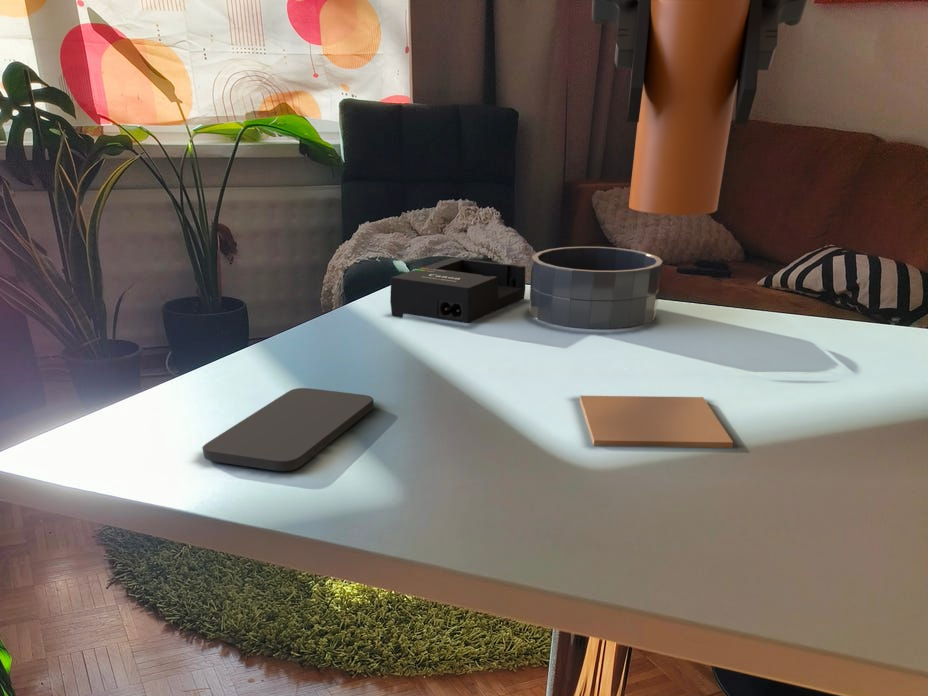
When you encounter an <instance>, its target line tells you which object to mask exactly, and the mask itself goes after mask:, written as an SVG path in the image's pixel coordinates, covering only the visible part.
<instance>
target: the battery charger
mask: <svg viewBox="0 0 928 696" xmlns="http://www.w3.org/2000/svg"><path fill="white" fill-rule="evenodd" d="M525 294H526V265H525V266H524V265H517V264H508V263H500V262H493V261H492V262H491V261H484V260H476V259H467V258H459V257H450V258H447V259H444V260H439V261H438V262H434V263H432V264H428V265H425V266H421V267H419V268H416V269H413V270H409V271H407V272H403V273H401V274H398V275H395V276H391V277H390V296H389V297H390V299H389V300H390V301H389V302H390V310H391V316H392V317H397V318H403V317H404V315H410V316H417V317H424V318H428V319H429V318H431V319H436V320H443V321H449V322H456V323H462V324H471V323H474V322H475V321H478V320H480V319H482V318H484V317H486V316H489V315H490V314H493V313H496V312H497V311H500V310H502V309H504V308H507V307H509V306H512V305H514V304H516V303H518V302H520V301H523V300H524V299H525V296H526V295H525Z"/></svg>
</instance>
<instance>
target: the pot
mask: <svg viewBox="0 0 928 696" xmlns="http://www.w3.org/2000/svg"><path fill="white" fill-rule="evenodd" d="M663 262H664V261H663V260H662V259H661V258H660V257H659V256H657V255H654V254H651V253H649V252H646V251H645V252H644V251H641V250H635V249H628V248H620V247H609V246H607V247H606V246H565V247H557V248H549V249H545V250H541V251H538V252H536V253H535V254H533V255H532V256H531V269H530V287H529V288H530V290H529V306H528V307H529V309H528V311H529V314H530V316H532V317H533V318H534V319H535V320H538V321H540V322H543V323H545V324H546V323H547V324H549V325H554V326H558V327H564V328H573V329H582V330H620V329H621V330H622V329H630V328H631V329H632V328H636V327H640V326H641V327H642V326H644V325H646V324H650V323H651V322H653V320H654V319H655V317H656V316H657V308H658V301H659V293H660V284H661V279H662V278H661V277H662V271H663Z"/></svg>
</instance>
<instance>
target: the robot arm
mask: <svg viewBox="0 0 928 696" xmlns="http://www.w3.org/2000/svg"><path fill="white" fill-rule="evenodd" d="M591 1H592V3H591V21H592V22H593V23H594V24H596V25H600V26H601V25H605V24H607V23H608V22H611V23H613V24H614V25H615V26H616V29H617V30H616V40H615V49H614V50H615V51H614V64H615V67H616V69H630V70H631V76H630V85H629V95H628V106H627V115H626V123H638V122H639V116H640V108H641V100H642V92H643V82H644V71H645V60H646V50H647V39H648V28H649V17H650V7H651V0H591ZM807 2H808V0H750V3H749V10H748V16H747V23H746V29H745V35H744V42H743V48H742V54H741V61H740V67H739V73H738V80H737V86H736V96H735V98H736V99H735V114H734V125H747V124H748V122H749V118H750V115H751V111H752V108H753V104H754V99H755V98H756V97H755V96H756V93H757V89H758V75H759V71H769V69H770V67H771V66H772V63H773V60H774V56H775V53H776V49H777V45H778V35H779V34H778V33H779V25H780V24H782V23H784V24H785V25H787V26H797V25H798V24H800V23H801V21H802V18H803V16H804V12H805V9H806V6H807Z"/></svg>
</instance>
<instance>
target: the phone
mask: <svg viewBox="0 0 928 696" xmlns="http://www.w3.org/2000/svg"><path fill="white" fill-rule="evenodd" d="M374 401H375V400H374V397H372V396H370V395H367V394H362V393H361V394H360V393H351V392H344V391H335V390H327V389H317V388H309V387H299V388H298V387H297V388H293V389H290V390H288V391H286V392H285V393H284V394H282V395H280V396H279V397H277V398H276V399H274V400H273V401H271V402H269V403H268V404H266V405H264V406H263V407H261V408H260V409H258V410H257V411H255V412H253V413H252V414H250V415H249V416H247V417H246V418H244V419H243V420H241V421H239V422H237V423H236V424H234V425H233V426H231V427H230V428H228V429H227V430H226V431H223V432H222V433H220V434H219V435H217V436H215V437H214V438H212V439H211V440H209V441H208V442H206V443H205V444H204V445H203V446H202V453H203V458H204V459H205V460H207V461H209V462H214V463H220V464H221V463H222V464H229V465H234V466H242V467H248V468H249V467H250V468H255V469H261V470H262V469H263V470H268V471H269V470H270V471H277V472H290V471H294V470H297V469H299V468H300V467H302V466H303V465H304V464H306V463H307V462H309V460H311V459H312V458H314V456H316V455H317V454H318V453H319V452H321V451H322V450H323V449H325V448H326V447H327V446H328V445H330V444H331V443H332V442H333V441H335V440H336V439H337V438H339V436H341V435H342V434H343V433H344V432H346V431H348V429H350V428H351V427H352V426H353V425H354V424H357V422H358V421H360V420H362V418H363V417H365V416H366V415H367V414H368V413H370V412H371V411H373V409H374V408H375V403H374Z"/></svg>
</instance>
